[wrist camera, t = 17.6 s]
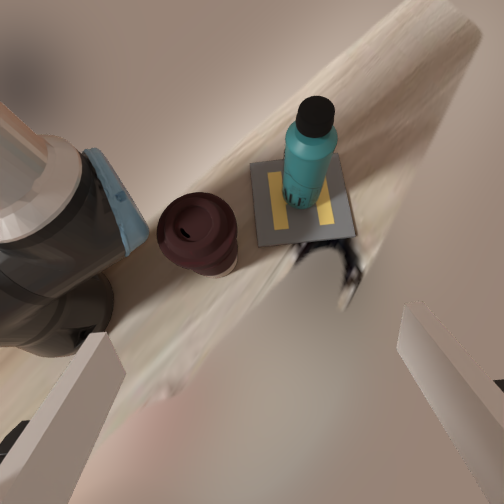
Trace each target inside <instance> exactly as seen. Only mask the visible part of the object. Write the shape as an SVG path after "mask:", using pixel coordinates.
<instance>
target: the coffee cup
mask: <svg viewBox="0 0 504 504" xmlns="http://www.w3.org/2000/svg"><path fill="white" fill-rule="evenodd" d="M236 238H237V223H236V219H235V216H234V213H233V211H232V209H231V208H230V206H229V205H228V204H227V203H226V202H225V201H224V200H222V199H221V198H219V197H218V196H215V195H213V194H210V193H203V192H195V193H190V194H186V195H183V196H181V197H179V198H177V199H176V200H174V201H173V202H172V203H171V204H170V205H168V206H167V208H166V209H165V210H164V212H163V213H162V215H161V217H160V219H159V222H158V226H157V240H158V244H159V247H160V249H161V250H162V252H163V254H164V255H165V256H166V257H167V258H168V259H169V260H171V261H172V262H173V263H175V264H176V265H178V266H180V267H182V268H186V269H191V270H193V271H194V272H196V273H198V274H201V275H204V276H206V277H209V278H220V277H223V276H226V275H227V274H229V273H230V272H231V271H232V270H233V269H234V267H235V265H236V263H237V258H238V253H237V252H238V245H237V239H236Z"/></svg>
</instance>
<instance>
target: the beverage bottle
mask: <svg viewBox="0 0 504 504" xmlns="http://www.w3.org/2000/svg"><path fill="white" fill-rule="evenodd" d="M334 115H335V108H334V105H333V103H332V102H331V101H330V100H329V99H327V98H325V97H322V96H311V97H308V98H306V99H305V100H304V101H302V103H301V104H300V106H299V109H298V113H297V116H296V121H294V122H293V123H292V124H291V125H290V126H289V128H288V130H287V132H286V138H285V141H286V147H285V152H284V153H285V159H284V158H283V159H284V160H283V161H284V163H283V164H284V165H283V170H284V174H283V173H282V174H283V175H282V176H283V182H282V183H283V189H282V190H281V191H282V193H283V197H284V198H283V199H285V202H286V203H287V204H288V205H290V206H291V207H293V208H296V209H306V208H309V207H311V206H312V205H314V204H316V203H317V201H318V198H319V196H320V192H321V191H322V190H321V189H322V186H323V184H324V179H325V178H326V177H325V176H326V175H327V174H326V173H327V170H328V167H329V164H330V161H331V158H332V155H333V152H334V149H335V147H336V145H337V140H338V136H337V132H336V129H335V127H334V126H333V123H334ZM283 157H284V156H283Z"/></svg>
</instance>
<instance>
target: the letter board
mask: <svg viewBox="0 0 504 504" xmlns="http://www.w3.org/2000/svg"><path fill="white" fill-rule="evenodd" d="M283 160H284V159H282V160H274V161H265V162H257V163H250V170H251V180H252V190H253V200H254V210H255V220H256V230H257V240H258V247H266V246H275V245H285V244H294V243H304V242H313V241H322V240H332V239H341V238H351V237H355V231H354V226H353V221H352V217H351V212H350V207H349V202H348V198H347V193H346V188H345V183H344V179H343V174H342V169H341V165H340V160H339V155H338V153H333V155H332V158H331V161H330V164H329V167H328V170H327V173H326V174H327V175H326V176H325V177H326V178H325V179H324V184H323V186H322V189H321V190H322V191H321V192H320V196H319V198H318V201H317V203H316V204H314V205H312V206H311V207H309V208H306V209H296V208H293V207H291V206H290V205H288V204H287V203H286V202H285V199H283V198H284V197H283V193H282V191H281V190H282V189H283V183H282V182H283V176H282V175H283V174H284V170H283V165H284V164H283V163H284V161H283ZM282 173H283V174H282Z"/></svg>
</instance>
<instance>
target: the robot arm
mask: <svg viewBox="0 0 504 504" xmlns="http://www.w3.org/2000/svg"><path fill="white" fill-rule="evenodd" d="M148 236H149V228H148V225H147V223H146V221H145V220H144V218H143V216H142V214H141V213H140V211H139V209H138V208H137V206H136V204H135V203H134V201H133V199H132V198H131V196H130V194H129V193H128V191H127V190H126V188H125V186H124V185H123V183H122V182H121V180H120V178H119V177H118V175H117V174H116V172H115V171H114V169H113V167H112V166H111V164H110V163H109V161H108V160H107V158H106V157H105V156H104V154H103V153H102V152H101V151H100V150H99V149H97V148H91V149H85V150H84V151H83V152H82V154H81V153H80V152H79V151H78V150H77V149H76V148H75V147H74V146H73V145H72V144H71V143H69V142H68V141H67V140H66V139H63V138H61V137H59V136H55V135H48V134H35V132H33V131H32V130H31V129H30V128H29V127H28V126H27V125H26V124H25V123H24V122H23V121H21V120H20V119H19V118H18V117H17V116H16V115H15V114H14V113H13V112H12V111H10V110H9V109H8V108H7V107H6V106H5V105H4V104H3V103H2V102H1V101H0V347H17V348H20V349H22V350H25V351H27V352H30V353H32V354H34V355H37V356H41V357H48V358H54V357H65V356H70V355H74V354H75V356H74V357H73V359H72V360H71V362H70V363H69V365H68V366H67V368H66V369H65V371H64V372H63V373H62V375H61V376H60V378H59V379H58V381H57V382H56V384H55V385H54V387H53V388H52V390H51V391H50V392H49V394H48V395H47V397H46V398H45V400H44V401H43V403H42V404H41V406H40V407H39V409H38V410H37V411H36V413H35V414H34V416H33V417H32V419H31V420H27V421H22V422H20V423H19V424H18V425H17V426H16V427H15V428H14V429H13V430H12V431H11V432H10V433H9V434H8V435H7V436H6V437H5V438H4V439H3V441H2V442H1V444H0V504H68V502H69V500H70V498H71V496H72V493H73V491H74V489H75V487H76V484H77V482H78V480H79V478H80V476H81V473H82V471H83V469H84V467H85V464H86V462H87V460H88V458H89V455H90V453H91V451H92V449H93V447H94V444H95V442H96V440H97V438H98V435H99V433H100V431H101V429H102V426H103V424H104V422H105V420H106V418H107V415H108V413H109V411H110V409H111V406H112V404H113V402H114V400H115V397H116V395H117V393H118V391H119V389H120V386H121V384H122V382H123V380H124V377H125V375H126V372H125V370H124V368H123V366H122V364H121V361H120V359H119V357H118V355H117V353H116V351H115V349H114V347H113V344H112V342H111V340H110V338H109V336H108V334H107V332H104V330H105V328H106V327H107V325H108V323H109V320H110V318H111V315H112V310H113V292H112V288H111V285H110V283H109V281H108V279H107V278H106V276H105V275H104V274H103V273H102V271H103V270H105V269H106V268H108V267H110V266H111V265H113V264H114V263H116V262H118V261H119V260H121V259H122V258H124V257H127V256H129V254H130V252H131V251H133V250H134V249H136V248H137V247H138V246H140V245H141V244H142V243H144V242H145V241H146V240H147V238H148ZM397 351H398V353H399V354H400V356H401V358H402V359H403V361H404V362H405V364H406V366H407V367H408V369H409V371H410V372H411V374H412V376H413V377H414V379H415V381H416V382H417V384H418V386H419V387H420V389H421V391H422V392H423V394H424V396H425V397H426V399H427V401H428V402H429V404H430V406H431V407H432V409H433V410H434V412H435V414H436V415H437V417H438V419H439V420H440V422H441V424H442V425H443V427H444V429H445V430H446V432H447V434H448V435H449V437H450V438H451V440H452V442H453V444H454V445H455V447H456V449H457V450H458V452H459V454H460V455H461V457H462V459H463V460H464V462H465V464H466V465H467V467H468V468H469V470H470V472H471V473H472V475H473V477H474V478H475V480H476V482H477V483H478V485H479V487H480V488H481V490H482V492H483V493H484V495H485V497H486V498H487V500H488V502H489V503H490V504H504V380H492V379H491V378H490V377H489V376H488V375H487V373H486V372H485V371H484V370H483V369H482V368H481V367H480V366H479V365H478V363H477V362H476V361H475V360H474V359H473V358H472V356H471V355H470V354H469V353H468V352H467V351H466V350H465V349H464V347H463V346H462V345H461V344H460V343H459V342H458V341H457V339H456V338H455V337H454V336H453V335H452V334H451V333H450V332H449V331H448V329H447V328H446V327H445V326H444V325H443V324H442V322H441V321H440V320H439V319H438V318H437V317H436V316H435V315H434V313H433V312H432V311H431V310H430V309H429V308H428V307H427V305H426V304H425V303H424V302H423V301H421V302H410V303H405V304H404V310H403V315H402V321H401V326H400V332H399V338H398V343H397Z"/></svg>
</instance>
